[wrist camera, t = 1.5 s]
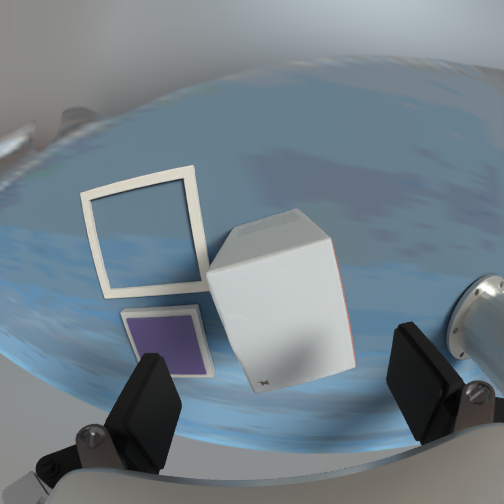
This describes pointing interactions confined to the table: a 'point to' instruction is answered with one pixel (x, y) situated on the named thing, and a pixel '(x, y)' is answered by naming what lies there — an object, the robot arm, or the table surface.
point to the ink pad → (171, 338)
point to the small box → (282, 301)
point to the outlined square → (196, 225)
